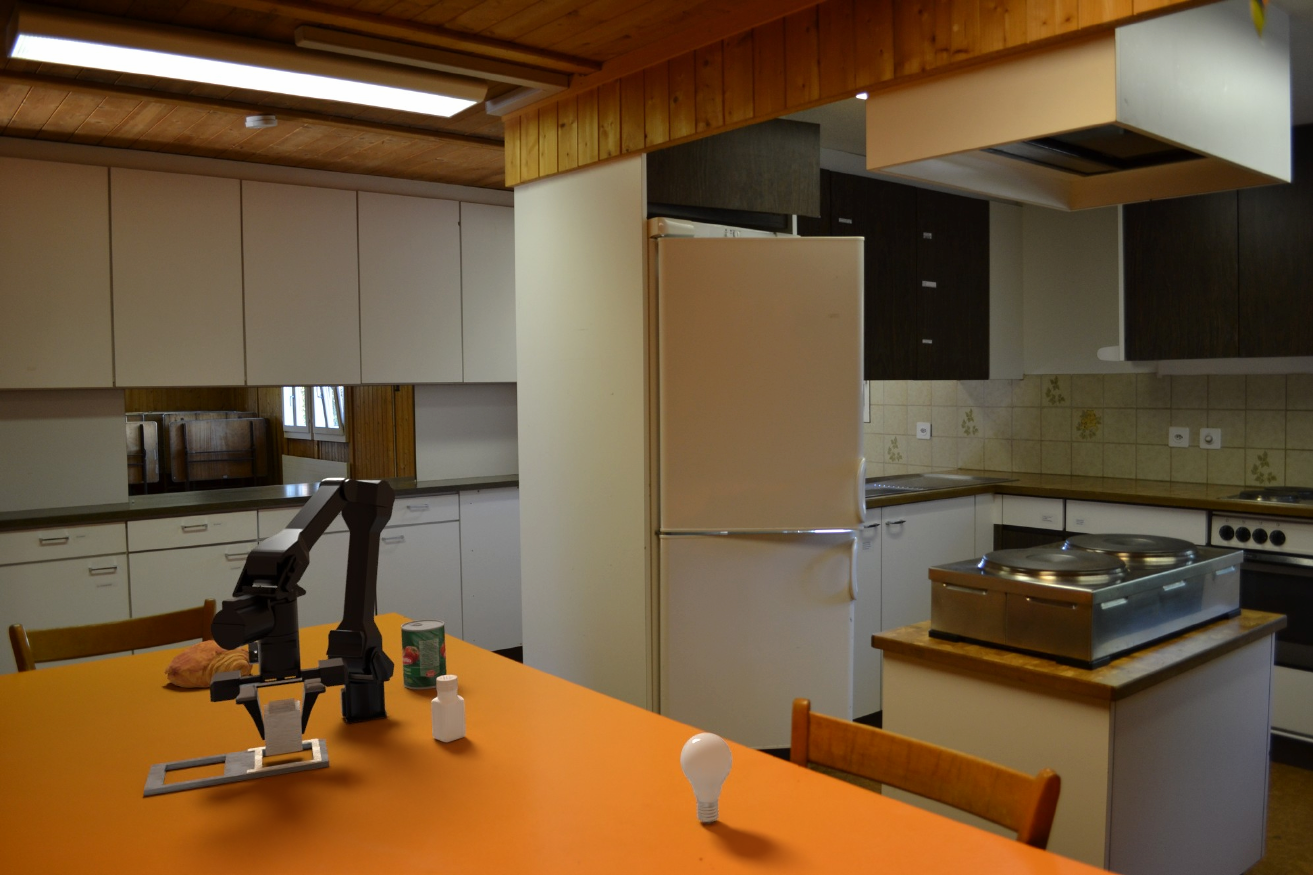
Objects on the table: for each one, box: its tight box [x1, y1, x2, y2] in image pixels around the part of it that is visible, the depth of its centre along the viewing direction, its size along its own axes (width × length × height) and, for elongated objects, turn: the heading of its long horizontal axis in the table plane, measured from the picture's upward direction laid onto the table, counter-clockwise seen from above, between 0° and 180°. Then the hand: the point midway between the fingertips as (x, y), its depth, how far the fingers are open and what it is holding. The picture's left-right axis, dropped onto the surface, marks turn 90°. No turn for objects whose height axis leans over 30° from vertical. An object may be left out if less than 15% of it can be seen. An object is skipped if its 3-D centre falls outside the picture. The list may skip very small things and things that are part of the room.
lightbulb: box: [680, 732, 733, 824], centre depth 121 cm, size 6×6×11 cm
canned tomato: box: [400, 619, 448, 690], centre depth 182 cm, size 8×8×11 cm
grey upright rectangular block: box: [263, 697, 304, 757], centre depth 145 cm, size 5×5×7 cm
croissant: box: [163, 639, 254, 689], centre depth 190 cm, size 14×16×8 cm
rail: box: [143, 738, 330, 797], centre depth 143 cm, size 24×10×1 cm, turn 112°
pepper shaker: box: [430, 674, 467, 743], centre depth 153 cm, size 4×4×10 cm
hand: (283, 736), depth 145 cm, fingers closed on grey upright rectangular block, 5 cm apart
